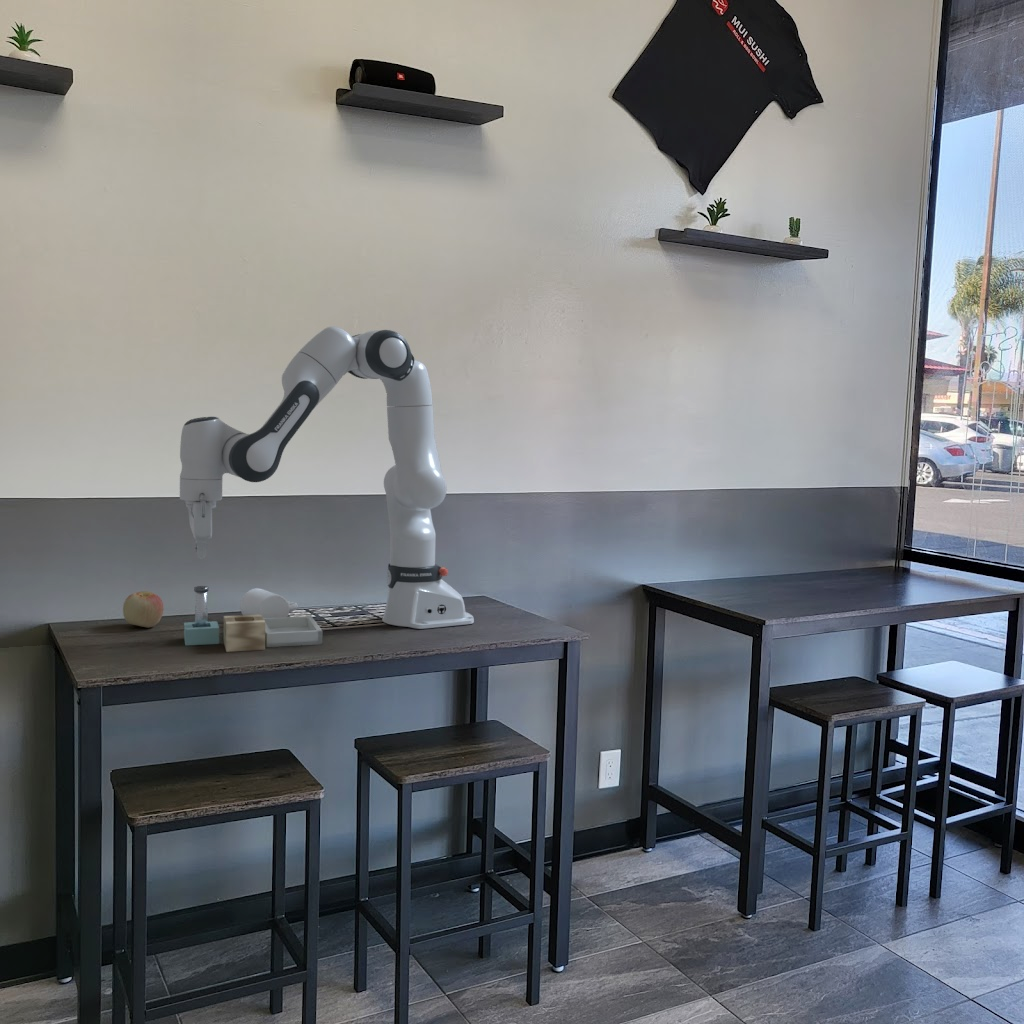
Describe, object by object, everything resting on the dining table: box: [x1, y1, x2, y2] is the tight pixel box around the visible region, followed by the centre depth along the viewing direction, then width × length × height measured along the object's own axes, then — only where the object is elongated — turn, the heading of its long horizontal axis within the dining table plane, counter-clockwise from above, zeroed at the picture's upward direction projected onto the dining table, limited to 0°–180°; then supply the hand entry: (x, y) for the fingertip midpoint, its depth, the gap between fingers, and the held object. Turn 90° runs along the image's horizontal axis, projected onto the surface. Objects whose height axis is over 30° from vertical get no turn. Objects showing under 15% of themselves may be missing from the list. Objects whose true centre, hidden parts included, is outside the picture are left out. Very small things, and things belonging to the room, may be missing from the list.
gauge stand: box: [183, 620, 220, 646], centre depth 219 cm, size 7×7×4 cm
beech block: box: [223, 614, 266, 653], centre depth 215 cm, size 8×8×6 cm
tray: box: [263, 615, 323, 648], centre depth 224 cm, size 12×16×3 cm
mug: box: [239, 587, 299, 618], centre depth 238 cm, size 12×10×8 cm
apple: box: [122, 590, 165, 628], centre depth 230 cm, size 9×9×8 cm
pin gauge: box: [193, 585, 210, 627], centre depth 218 cm, size 3×3×12 cm
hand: (200, 555), depth 217 cm, fingers open, 8 cm apart
